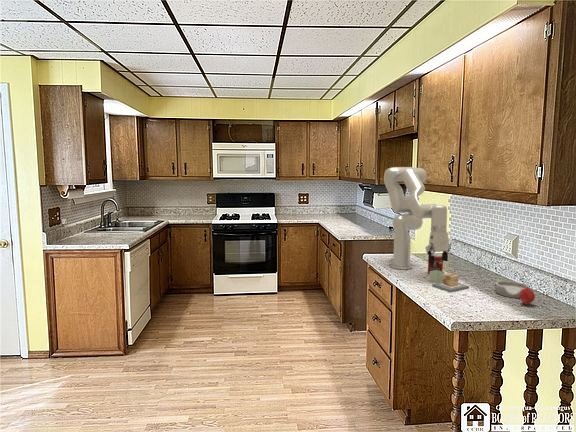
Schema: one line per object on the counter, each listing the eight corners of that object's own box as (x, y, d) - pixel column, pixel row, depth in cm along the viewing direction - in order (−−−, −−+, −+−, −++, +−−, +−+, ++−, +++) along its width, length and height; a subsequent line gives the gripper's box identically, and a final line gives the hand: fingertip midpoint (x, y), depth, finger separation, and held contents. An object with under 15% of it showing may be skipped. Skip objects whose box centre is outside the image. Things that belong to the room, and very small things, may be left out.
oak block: (442, 284, 197) (443, 274, 197) (449, 282, 200) (450, 273, 199) (450, 286, 193) (451, 276, 192) (457, 285, 195) (458, 275, 195)
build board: (432, 286, 198) (432, 283, 198) (450, 282, 204) (450, 280, 204) (450, 292, 189) (450, 289, 188) (468, 288, 195) (468, 285, 194)
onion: (516, 301, 175) (517, 284, 174) (529, 302, 174) (531, 284, 173) (522, 306, 169) (523, 288, 168) (536, 306, 169) (538, 288, 168)
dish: (534, 300, 178) (535, 289, 177) (501, 298, 180) (501, 287, 180) (521, 290, 192) (521, 280, 191) (490, 288, 194) (491, 278, 194)
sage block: (429, 280, 209) (429, 271, 208) (436, 279, 211) (436, 269, 211) (436, 282, 205) (437, 273, 204) (443, 281, 207) (443, 272, 206)
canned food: (427, 274, 219) (427, 255, 218) (428, 271, 227) (429, 252, 225) (441, 276, 216) (442, 256, 215) (443, 272, 223) (443, 253, 222)
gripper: (432, 231, 197) (431, 265, 199) (456, 228, 205) (455, 261, 207) (420, 229, 204) (420, 262, 205) (444, 227, 212) (444, 258, 213)
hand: (438, 261), depth 206 cm, fingers open, 9 cm apart
